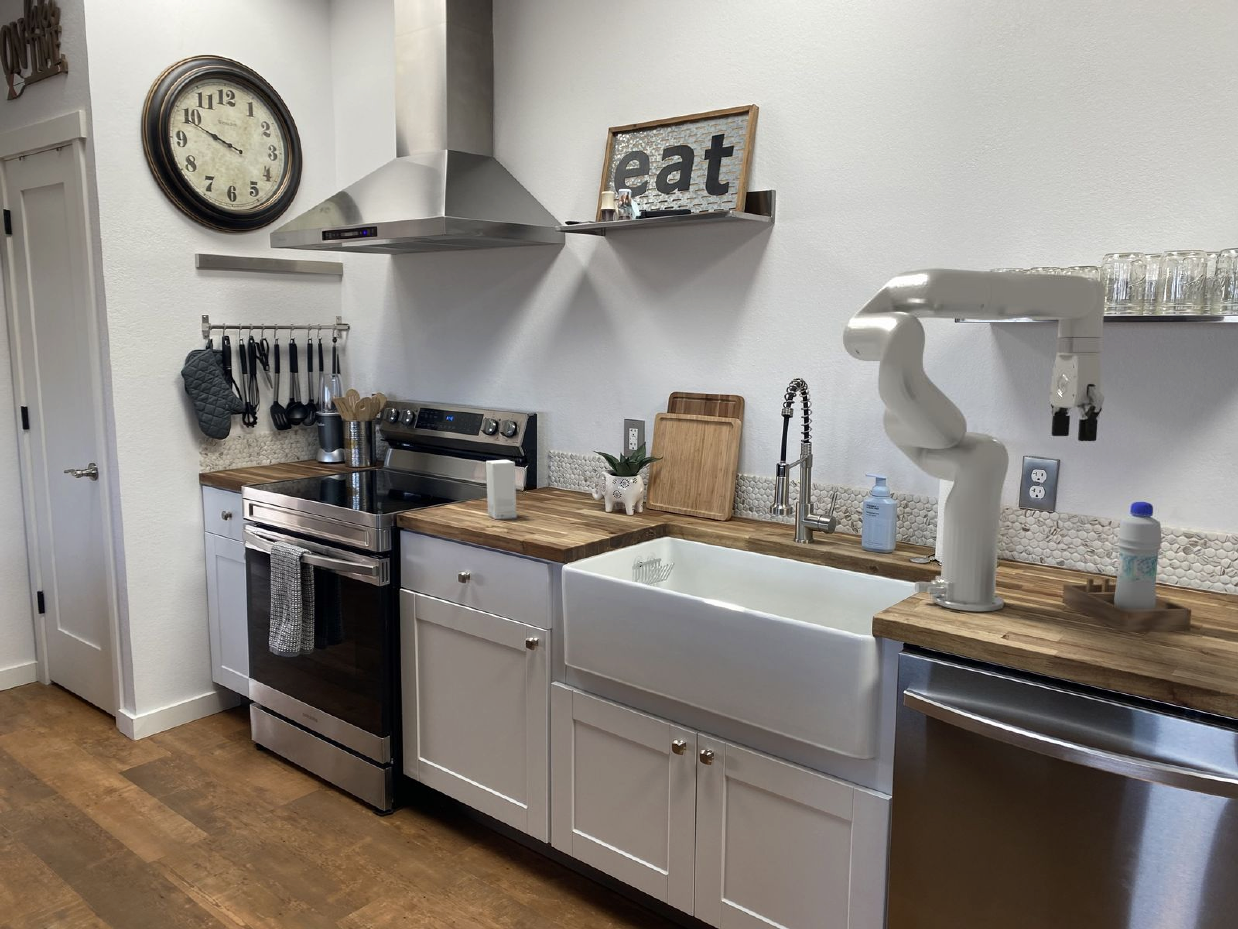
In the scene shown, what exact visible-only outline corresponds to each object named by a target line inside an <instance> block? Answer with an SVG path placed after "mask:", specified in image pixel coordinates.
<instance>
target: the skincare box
mask: <svg viewBox="0 0 1238 929" xmlns="http://www.w3.org/2000/svg"><path fill="white" fill-rule="evenodd" d="M485 470H486V474H485V475H486V494H487V499H486V500H487V501H486V502H487V516H488V517H491V518H492V519H494V520H507V519H508V520H509V519H510V520H511V519H517V518H518V517H517V493H516V492H517V491H516V490H517V489H516V462H515V461H511V460H509V459H499V460H498V459H497V460H486V461H485Z"/></svg>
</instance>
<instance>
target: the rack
mask: <svg viewBox="0 0 1238 929" xmlns="http://www.w3.org/2000/svg"><path fill="white" fill-rule="evenodd" d="M1094 582H1095V579H1094V578H1093V577H1092V578H1091V577H1088V578H1086V583H1075V584H1074V583H1071V584H1064V583H1063V588H1062V591H1063V592H1062V604H1064V605H1066V606H1068V607H1070V608H1072V609H1075V610H1076V611H1078V612H1080V613H1082V614H1085V615H1087V616H1089V617H1091V618H1093V619H1094V620H1098V621H1099V622H1101V623H1103V624H1105V625H1108V626H1109V627H1112V628H1114V629H1116V630H1118V631H1120V632H1122V633H1128V632H1129V633H1131V632H1135V633H1136V632H1169V631H1170V632H1171V631H1173V632H1174V631H1176V632H1178V631H1180V632H1181V631H1190V630H1191V622H1192V620H1191V619H1192V609H1190V608H1187V607H1185V606H1182V605H1181V604H1178V603H1175V602H1172V601H1170V600H1168V599H1165V598H1163V597H1160V596H1157V595H1156V604H1155V609H1152V610H1124V609H1122V608H1120V607H1117V606H1115V605H1114V597H1115V589H1116V583H1110V578H1108V577H1102V583H1094Z"/></svg>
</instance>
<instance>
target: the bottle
mask: <svg viewBox="0 0 1238 929" xmlns="http://www.w3.org/2000/svg"><path fill="white" fill-rule="evenodd" d="M1129 512H1130V515H1129V516H1126V517H1124V518H1122V519H1121V520H1120V524H1119V529H1118V534H1117V546H1118V562H1117V573H1116V574H1117V577H1116V583H1115V584H1116V589H1115V597H1114V605H1115V606H1117V607H1120V608H1122V609H1124V610H1152V609H1155V604H1156V596H1157V595H1156V594H1157V592H1156V591H1157V588H1156V587H1157V585H1156V584H1157V572H1158V562H1159V561H1158V560H1159V552H1160V550H1161V548H1162V547H1161V545H1162V542H1163V539H1162V528H1161V527H1162V526H1161V522H1160V521H1159V520H1157V519H1155V518H1153V517H1152V516H1153V514H1154V507H1153V505H1152V504H1151V503H1149V502H1148V501H1147V502H1146V501H1135V502H1132V504H1130V511H1129Z"/></svg>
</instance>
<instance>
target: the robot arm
mask: <svg viewBox="0 0 1238 929" xmlns="http://www.w3.org/2000/svg"><path fill="white" fill-rule="evenodd" d="M1105 299H1106V286H1105V285H1104V283H1103V282H1102V281H1099V280H1091V279H1090V280H1089V279H1088V278H1086V277H1084V276H1081V275H1073V274H1071V275H1069V274H1053V273H1052V274H1051V273H1050V274H1049V273H1020V272H1006V271H989V270H987V271H986V270H984V271H983V270H968V269H953V268H952V269H951V268H927V269H920V270H919V269H918V270H909V271H904V272H901V273H899V274H897V275H895V276H894V277H893V278H891V279H889V281H888V282H886V283H885V284H884V285H883V286H882V287H881V288H880V289H879V290H878V291H877V292H876V293H874V294H873V296H872V297H871V298H870V299H868V301H867V302H866V303H864V304H863V306H861V307H860V308H859V309H858V310H857V311H856V312H855V313H854V314H853V315H852V316H851V317H850V318H849V320H848V321H847V323H846V325H845V326H844V330H843V334H842V342H843V346H844V349H845V351H846V352H847V353H848V355H850V356H851V357H852V358H854V359H856V360H858V361H863V362H866V361H867V362H879V367H878V377H877V378H878V381H877V382H878V385H877V388H878V395H879V397H880V399H881V401H882V402H883V404H884V405H885V406H886V408H885V409H884V413H883V417H882V418H883V420H882V423H883V429H884V431H885V434H886V436H887V437H888V438H889V441H890V442H891V443H893V445H894V446H896V447H895V448H897V449H898V450H899V451H901V453H903V454H904V455H905V456H906V457H907V458H908V459H909V460H910V461H911V462H912V463H913V464H914V465H916V467H918V468H919V469H920V470H921V471H922V472H923V473H925V474H927V475H929V476H930V477H932V478H935V479H939V480H942V481H943V480H944V481H948V482H953V485H952V487H951V490H949V493H948V495H947V497H946V500H945V503H944V508H943V509H944V510H943V528H942V529H943V531H942V548H941V551H942V552H941V553H942V554H941V567H940V568H941V572H940V575H935V579H932V580H931V581H927V582H926V581H915V583H914V590H915V592H916V593H927V594H928V595H931V596H930V597H931V598H930V599H931V601H932V602H933V604H936V605H938V606H941V607H944V608H948V609H952V610H956V611H957V610H958V611H965V612H993V611H998V610H1000V609H1002V608H1004V604H1005V602H1004V599H1003V597H1001V596H999V595H997V594H996V585H997V584H996V583H997V570H998V569H997V567H998V566H997V563H998V550H999V548H998V546H999V530H1000V529H999V528H1000V515H1001V514H1000V511H1001V500H1002V494H1003V493H1002V492H1003V489H1004V485H1005V484H1004V483H1005V480H1006V477H1007V473H1008V470H1009V462H1010V461H1009V459H1010V458H1009V452H1008V450H1007V448H1006V446H1005V445H1004V444H1003V442H1002V441H1000V440H999V439H998V438H997V437H994V436H992V435H989V434H986V433H983V432H982V433H980V432H974V431H967V425H968V424H967V420H966V418H965V415H964V413H963V412H962V411H961V410H960V408H959V407H958V406H957V405H956V404H955V403H954V402H953V401H952V400H951V399H950V398H949V397H948V396H947V395H946V394H945V393H944V392H943V391H942V390H941V389H940V388H938V386H936V384H934V382H933V381H932V380H931V378H930V377H929V376H928V375H927V374H926V372H925V369H924V360H923V359H924V354H925V353H924V352H925V351H924V350H925V344H926V333H925V329H924V326H923V324H922V322H921V321H920V320H919V319H924V318H925V319H927V318H929V319H931V318H933V319H959V320H960V319H961V320H978V321H981V320H982V321H990V320H991V321H993V320H994V321H997V320H998V321H1003V320H1004V321H1005V320H1013V319H1022V318H1023V319H1024V318H1027V319H1030V320H1033V321H1054V320H1058V328H1057V329H1058V330H1057V342H1056V344H1057V346H1056V357H1055V360H1054V365H1053V369H1052V376H1051V381H1050V382H1051V383H1050V392H1049V402H1050V406H1051V415H1052V420H1051V421H1052V422H1051V436H1053V437H1068V436H1069V434H1070V420H1071V415H1069V413H1070V412H1071V409H1076V408H1078V412H1079V414H1080V417H1081V419H1080V418H1078V419H1079V420H1078V432H1077V433H1078V434H1077V441H1079V442H1096V441H1097V435H1098V420H1100V413H1101V412H1102V410H1103V408H1102V407H1103V405H1104V402H1105V396H1104V395H1103V393H1101V384H1102V383H1101V375H1102V374H1101V359H1100V356H1102V346H1103V345H1102V344H1103V328H1104V315H1105V302H1106V301H1105Z"/></svg>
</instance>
